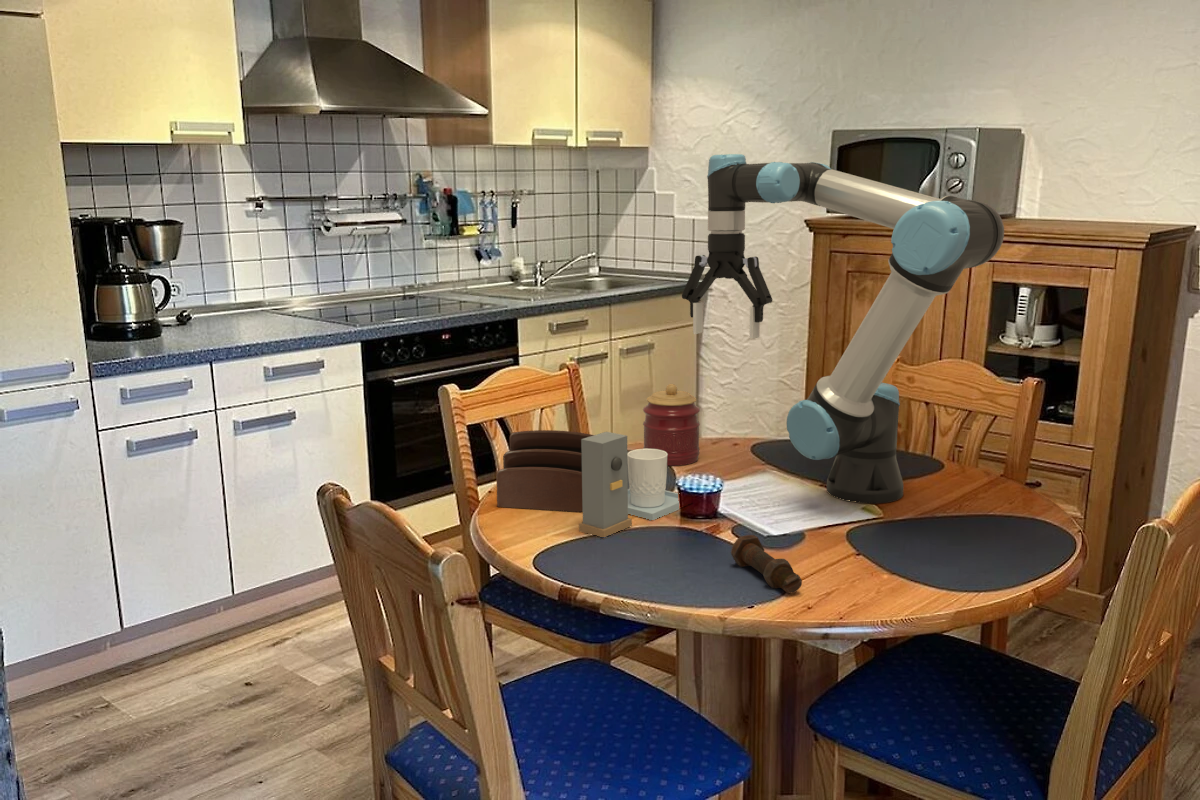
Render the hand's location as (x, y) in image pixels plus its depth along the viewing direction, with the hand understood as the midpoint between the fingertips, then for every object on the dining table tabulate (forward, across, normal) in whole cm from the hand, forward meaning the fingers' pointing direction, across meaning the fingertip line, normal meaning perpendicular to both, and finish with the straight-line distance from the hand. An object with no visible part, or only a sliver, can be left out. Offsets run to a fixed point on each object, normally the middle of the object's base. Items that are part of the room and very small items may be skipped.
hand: (725, 335), depth 207 cm
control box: (+31, +2, +40) cm, 50 cm away
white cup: (+31, +3, +24) cm, 39 cm away
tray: (+31, +3, +24) cm, 39 cm away
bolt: (+32, -34, +42) cm, 63 cm away
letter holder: (+31, +20, +34) cm, 50 cm away
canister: (+31, +18, -6) cm, 37 cm away
